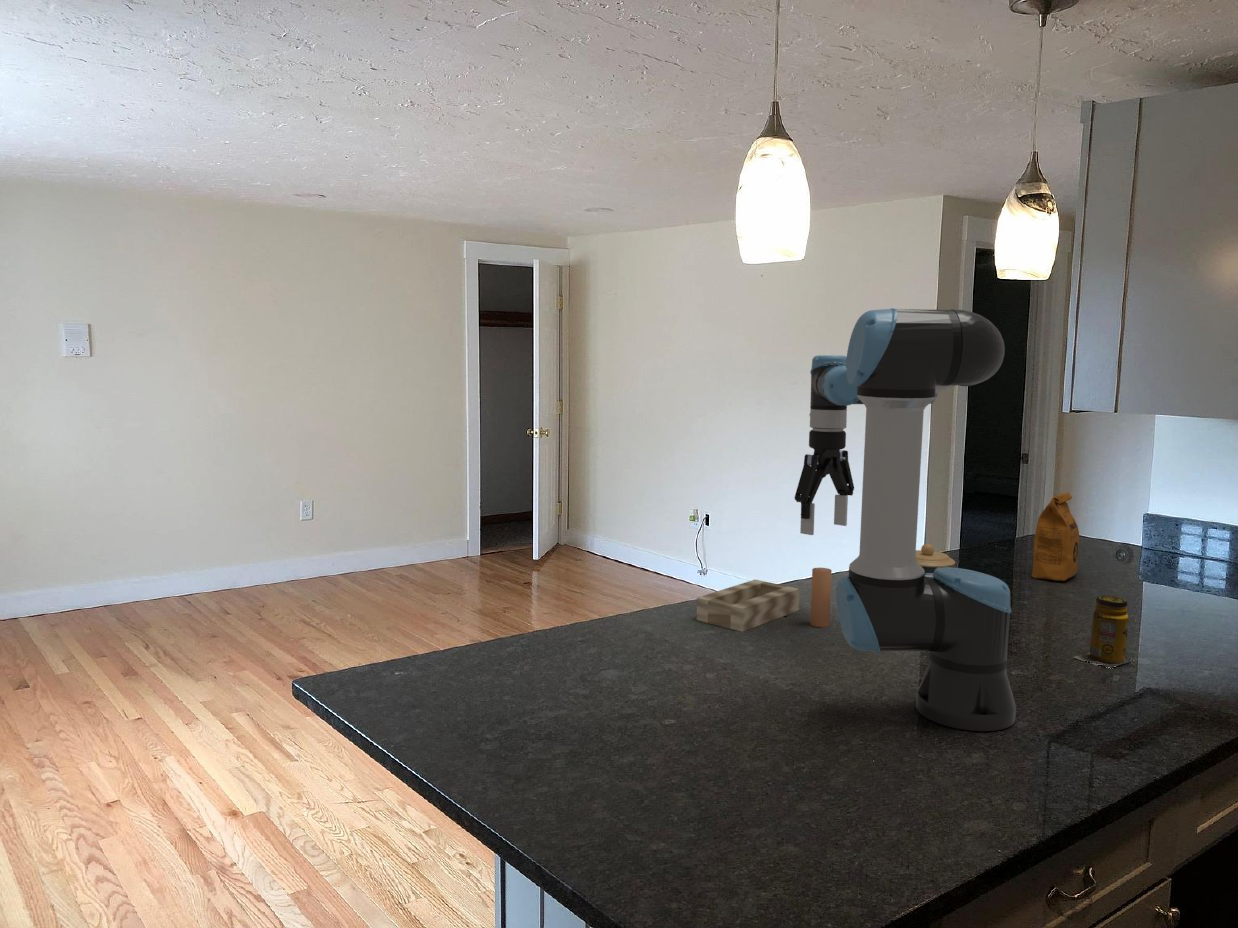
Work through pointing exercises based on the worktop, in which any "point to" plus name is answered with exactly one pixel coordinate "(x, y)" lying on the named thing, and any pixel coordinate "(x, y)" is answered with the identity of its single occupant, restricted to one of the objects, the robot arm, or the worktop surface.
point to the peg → (820, 597)
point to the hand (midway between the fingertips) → (824, 529)
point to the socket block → (747, 605)
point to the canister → (932, 560)
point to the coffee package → (1056, 541)
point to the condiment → (1108, 631)
